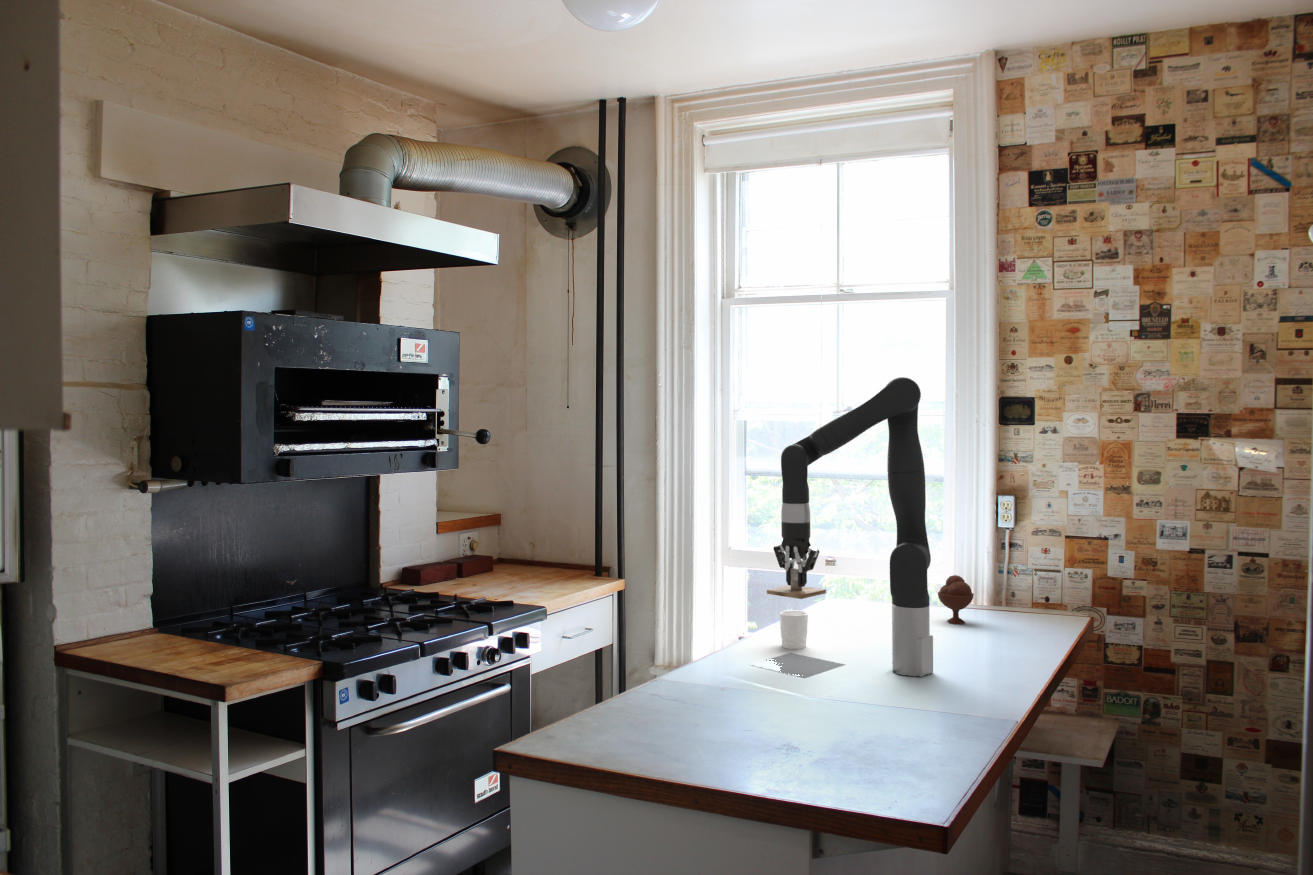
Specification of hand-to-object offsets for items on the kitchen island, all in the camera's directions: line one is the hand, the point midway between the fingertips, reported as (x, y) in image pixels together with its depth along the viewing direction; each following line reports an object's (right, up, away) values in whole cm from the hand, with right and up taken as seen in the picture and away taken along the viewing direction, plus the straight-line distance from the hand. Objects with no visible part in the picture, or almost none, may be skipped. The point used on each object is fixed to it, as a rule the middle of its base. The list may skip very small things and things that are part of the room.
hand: (796, 585), depth 232 cm
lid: (0, -2, 0) cm, 2 cm away
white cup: (+2, -21, +20) cm, 29 cm away
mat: (0, -21, -1) cm, 21 cm away
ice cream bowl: (+59, -21, +51) cm, 81 cm away
